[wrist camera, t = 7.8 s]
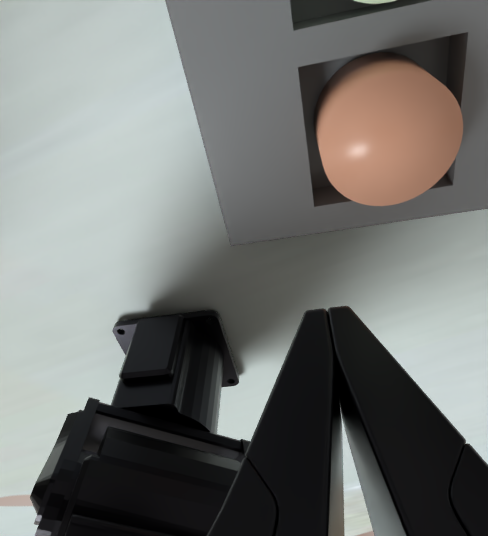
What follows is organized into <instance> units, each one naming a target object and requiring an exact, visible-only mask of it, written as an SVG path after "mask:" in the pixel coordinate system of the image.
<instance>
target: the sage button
mask: <svg viewBox="0 0 488 536" xmlns="http://www.w3.org/2000/svg"><path fill="white" fill-rule="evenodd" d="M354 1H357V2H362V3H369V4H380V3H387V2H392V1H396V0H354Z"/></svg>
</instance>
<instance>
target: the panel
mask: <svg viewBox="0 0 488 536" xmlns="http://www.w3.org/2000/svg"><path fill="white" fill-rule="evenodd" d="M165 1H166V5H167V9H168V12H169V16H170V20H171V24H172V27H173V31H174V35H175V39H176V42H177V46H178V50H179V53H180V57H181V61H182V65H183V68H184V72H185V76H186V80H187V83H188V87H189V91H190V95H191V98H192V102H193V106H194V110H195V113H196V117H197V121H198V125H199V128H200V132H201V136H202V139H203V143H204V147H205V151H206V154H207V158H208V162H209V166H210V169H211V173H212V177H213V181H214V184H215V188H216V192H217V196H218V199H219V203H220V207H221V211H222V214H223V218H224V222H225V225H226V229H227V233H228V237H229V240H230V244H231V246H234V245H241V244H247V243H254V242H261V241H268V240H275V239H282V238H289V237H295V236H302V235H309V234H316V233H323V232H330V231H337V230H344V229H350V228H357V227H364V226H371V225H378V224H385V223H392V222H398V221H405V220H412V219H419V218H426V217H433V216H440V215H447V214H453V213H460V212H467V211H474V210H481V209H488V0H396V1H392V2H387V3H380V4H369V3H362V2H357V1H354V0H165ZM379 52H389V53H396V54H400V55H403V56H405V57H407V58H409V59H411V60H413V61H414V62H416V63H417V64H418V65H419V66H421V67H422V68H423V69H425V70H426V71H427V72H428V73H430V74H431V75H432V76H433V77H435V78H436V79H437V80H438V81H440V82H441V83H442V84H443V85H445V86H446V87H447V88H448V89H449V90H450V91H451V93H452V94H453V95H454V97H455V98H456V100H457V102H458V104H459V106H460V109H461V113H462V118H463V135H462V141H461V145H460V148H459V151H458V153H457V155H456V158H455V160H454V161H453V163H452V165H451V166H450V168H449V169H448V170H447V172H446V173H445V174H444V176H443V177H442V178H441V179H440V180H439V181H438V182H437V183H436V184H434V185H433V186H432V187H431V188H429V189H428V190H427V191H425V192H424V193H422V194H420V195H419V196H417V197H415V198H413V199H410V200H408V201H405V202H402V203H399V204H394V205H388V206H370V205H364V204H360V203H357V202H355V201H352V200H350V199H348V198H347V197H345V196H343V195H342V194H341V193H340V192H338V191H337V190H336V188H335V187H334V186H333V185H332V184H331V182H330V181H329V179H328V177H327V175H326V173H325V170H324V167H323V164H322V160H321V156H320V152H319V148H318V144H317V140H316V136H315V131H314V112H315V107H316V104H317V101H318V98H319V96H320V94H321V92H322V90H323V88H324V87H325V85H326V83H327V82H328V81H329V80H330V78H331V77H332V76H333V75H334V74H335V73H336V72H337V71H338V70H339V69H340V68H342V67H343V66H345V65H346V64H347V63H349V62H351V61H353V60H354V59H357V58H359V57H361V56H364V55H368V54H371V53H379Z"/></svg>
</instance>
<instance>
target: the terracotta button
mask: <svg viewBox="0 0 488 536" xmlns="http://www.w3.org/2000/svg"><path fill="white" fill-rule="evenodd" d="M314 131H315V136H316V140H317V144H318V148H319V152H320V156H321V160H322V164H323V167H324V170H325V173H326V175H327V177H328V179H329V181H330V182H331V184H332V185H333V186H334V187H335V188H336V190H337V191H338V192H340V193H341V194H342V195H343V196H345V197H347V198H348V199H350V200H352V201H355V202H357V203H360V204H364V205H370V206H388V205H394V204H399V203H402V202H405V201H408V200H410V199H413V198H415V197H417V196H419V195H420V194H422V193H424V192H425V191H427V190H428V189H429V188H431V187H432V186H433V185H434V184H436V183H437V182H438V181H439V180H440V179H441V178H442V177H443V176H444V174H445V173H446V172H447V170H448V169H449V168H450V166H451V165H452V163H453V161H454V160H455V158H456V155H457V153H458V151H459V148H460V145H461V141H462V135H463V118H462V113H461V109H460V106H459V104H458V102H457V100H456V98H455V97H454V95H453V94H452V93H451V91H450V90H449V89H448V88H447V87H446V86H445V85H443V84H442V83H441V82H440V81H438V80H437V79H436V78H435V77H433V76H432V75H431V74H430V73H428V72H427V71H426V70H425V69H423V68H422V67H421V66H419V65H418V64H417V63H416V62H414V61H413V60H411V59H409V58H407V57H405V56H403V55H400V54H396V53H389V52H379V53H371V54H368V55H364V56H361V57H359V58H357V59H354V60H353V61H351V62H349V63H347V64H346V65H345V66H343V67H342V68H340V69H339V70H338V71H337V72H336V73H335V74H334V75H333V76H332V77H331V78H330V80H329V81H328V82H327V83H326V85H325V87H324V88H323V90H322V92H321V94H320V96H319V98H318V101H317V104H316V107H315V112H314Z"/></svg>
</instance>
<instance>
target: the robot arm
mask: <svg viewBox="0 0 488 536" xmlns="http://www.w3.org/2000/svg"><path fill="white" fill-rule="evenodd" d="M208 318H212V319H213V320H210V319H208ZM121 329H123V330H121ZM113 333H114V335H115V337H116V339H117V341H118V342H119V344H120V346H121V348H122V350H123V351H124V353H125V355H126V357H125V360H124V363H123V365H122V368H121V371H120V374H119V377H120V379H119V382H118V385H117V388H116V391H115V394H114V397H113V400H112V403H111V405H108V404H105V403H101V402H99V401H100V400H97V399H93V398H90V397H89V399H88V401H87V404H86V406H85V409H84V411H82V410H79V412H75V413H71V414H68V416H67V418H66V420H65V423H64V425H63V427H62V430H61V432H60V434H59V437H58V439H57V441H56V444H55V446H54V448H53V450H52V452H51V454H50V456H49V458H48V460H47V462H46V464H45V466H44V468H43V470H42V472H41V474H40V475H39V477H38V479H37V481H36V483H35V486H34V488H33V491H32V493H31V496H30V499H31V501H32V503H33V506H34V508H35V510H36V513H37V516H36V519H35V523H34V524H35V525H39V526H38V528H37V531H36V534H35V536H344V494H343V448H342V419H343V423H344V427H345V431H346V435H347V438H348V442H349V445H350V449H351V453H352V456H353V460H354V463H355V467H356V471H357V474H358V478H359V481H360V485H361V488H362V492H363V496H364V499H365V503H366V506H367V510H368V514H369V517H370V521H371V524H372V528H373V532H374V535H375V536H488V464H487V463H486V462H485V461H484V460H483V459H482V458H481V456H480V455H479V454H478V453H477V452H476V451H475V450H474V448H473V447H472V446H471V445H470V444H465V443H466V440H465V438H464V437H463V436H462V435H461V434H460V433H459V432H458V430H457V429H456V428H455V427H454V426H453V425H452V424H451V422H450V421H449V420H448V419H447V418H446V417H445V416H444V414H443V413H442V412H441V411H440V410H439V409H438V408H437V406H436V405H435V404H434V403H433V402H432V401H431V400H430V398H429V397H428V396H427V395H426V394H425V393H424V392H423V390H422V389H421V388H420V387H419V386H418V385H417V384H416V382H415V381H414V380H413V379H412V378H411V377H410V376H409V374H408V373H407V372H406V371H405V370H404V369H403V368H402V366H401V365H400V364H399V363H398V362H397V361H396V360H395V358H394V357H393V356H392V355H391V354H390V353H389V352H388V350H387V349H386V348H385V347H384V346H383V345H382V344H381V342H380V341H379V340H378V339H377V338H376V337H375V336H374V334H373V333H372V332H371V331H370V330H369V329H368V328H367V326H366V325H365V324H364V323H363V322H362V321H361V320H360V318H359V317H358V316H357V315H356V314H355V313H354V312H353V310H352V309H351V308H350V307H348V306H341V307H332V308H329V309H328V311H326V309H315V310H308V311H306V312H305V313H304V315H303V318H302V320H301V322H300V325H299V327H298V330H297V332H296V334H295V337H294V339H293V341H292V344H291V346H290V349H289V351H288V353H287V356H286V358H285V361H284V363H283V365H282V368H281V370H280V373H279V375H278V377H277V380H276V382H275V384H274V387H273V389H272V392H271V394H270V396H269V399H268V401H267V404H266V406H265V408H264V411H263V413H262V415H261V418H260V420H259V423H258V425H257V427H256V430H255V432H254V435H253V437H252V439H251V442H250V441H247V440H243V439H241V440H236V439H233V438H229V437H225V436H222V435H218V434H217V426H218V417H219V407H220V397H221V387H228V386H235V385H237V384H238V383H239V374H238V371H237V368H236V365H235V362H234V359H233V356H232V353H231V350H230V347H229V344H228V340H227V337H226V334H225V331H224V328H223V325H222V322H221V319H220V316H219V314H218V313H217V312H216V311H212V310H208V311H200V312H192V313H183V314H175V315H167V316H159V317H151V318H143V319H135V320H126V321H119V322H117V323H116V324H115V326H114V328H113ZM340 408H341V410H340ZM341 413H342V419H341Z"/></svg>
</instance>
